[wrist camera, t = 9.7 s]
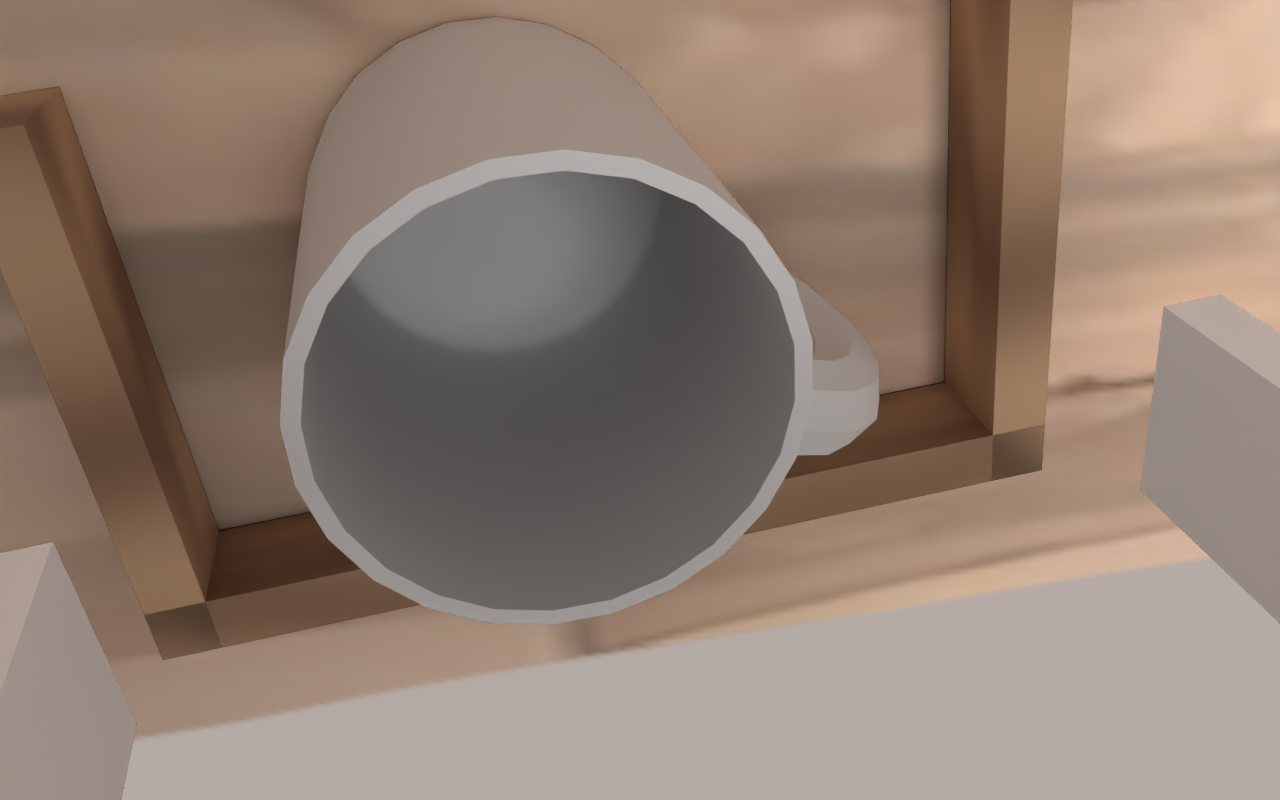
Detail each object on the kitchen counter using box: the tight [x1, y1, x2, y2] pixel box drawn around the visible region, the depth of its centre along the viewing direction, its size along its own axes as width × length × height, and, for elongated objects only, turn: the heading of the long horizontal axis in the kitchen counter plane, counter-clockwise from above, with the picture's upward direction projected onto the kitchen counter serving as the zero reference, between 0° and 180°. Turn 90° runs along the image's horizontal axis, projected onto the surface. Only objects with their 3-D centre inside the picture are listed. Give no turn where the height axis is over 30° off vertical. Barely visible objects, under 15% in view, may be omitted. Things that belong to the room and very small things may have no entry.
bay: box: [0, 0, 1073, 660], centre depth 24 cm, size 11×19×2 cm, turn 97°
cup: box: [279, 17, 879, 625], centre depth 20 cm, size 7×10×9 cm
